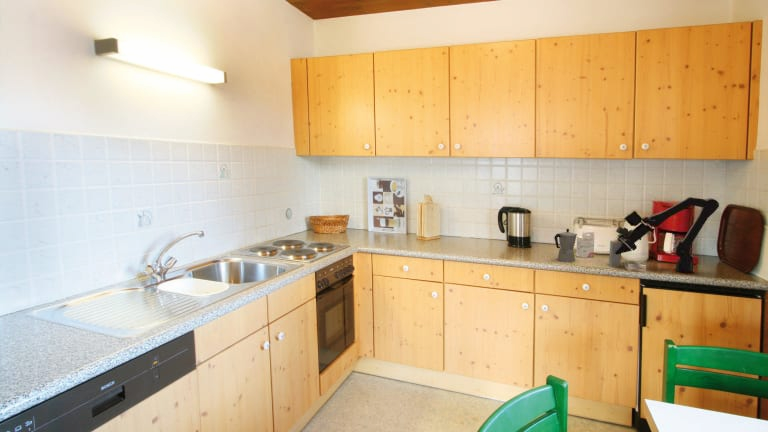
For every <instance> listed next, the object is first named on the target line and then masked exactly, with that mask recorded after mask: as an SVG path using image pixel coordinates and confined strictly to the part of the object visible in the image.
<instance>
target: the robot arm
mask: <svg viewBox="0 0 768 432" xmlns="http://www.w3.org/2000/svg"><path fill="white" fill-rule="evenodd" d="M692 206H693V207H699V208H700V210H699V214H698V215H697V217H696V219H695V221H693V223H692V225H691V227H689V228H690V229H689V230H688V231H687V233H686V234H685V237H684V238H683V239H682V240H680V239H677V242H676V244H675V245H674V246H673V247H674V253H675V254H676V256H677V257H678V258H677V260H676V264H675V268H674V270H675V271H677V272H679V273H684V274H695V273H696V272H695V271H694V263H695V262H694V261H695V260H694V259H695V258H694V256H693V254H692V253H691V249H692V245H693V242H694V241H695V239H696V237H697V236H698V235H699V233H700V231H701V230H702V228H703V227H704V225H705V223H706V222H707V220H708V219H709V218H710V217H711V216H712V215H713V214H714V213H716V211H717V210H718V209H719V207H720V203H719V201H718V200H716V199H715V198H712V197H711V198H709V197H708V198H700V197H699V198H698V197H692V196H688V197H686V198H685V199H684V200H681V201H680V202H678V203H676V204H675V205H673V206H671V207H669V208H667V209H666V210H663V211H660V212H657V213H654V214H651V215H650V216H646V217H644V216H641V215H640V214H639V213H638V212H637V211H636V210H633V211H631V212H630V213H628V214H627V215H626V216H624V217H623V220H624V221H626V223H627V224H628V225H629V226H630V227H635V228H633V229H628V228H626V227H625V226H624V227H622V226H618V227H617V229H616V230H615V232H616V233H617V234H618V235H617V237H616V240H618V241H620V242H621V243H622V246H621V247H620V248H619V249H618V250H617V251H616V252H615V254H616V255H617V254H621V255H622V254H624V253H628V252H632V251H633V252H634V251H635V250H636V249H637V247H638V246H637V245H636V243H637V242H638V241H641V240H642V238H643V237H644V236H646V235H647V234H648V233H649V232H650V233H651V234H653V235H654V234H655V228H656V227H657V228H658V227H659V226H660V225H662V224H663V223H664V222H665V221H667V220H668V219H669V218H670V217H673V216H674V215H676V214H678V213H680V212H681V211H684V210H686V209H687V208H689V207H692Z"/></svg>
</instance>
